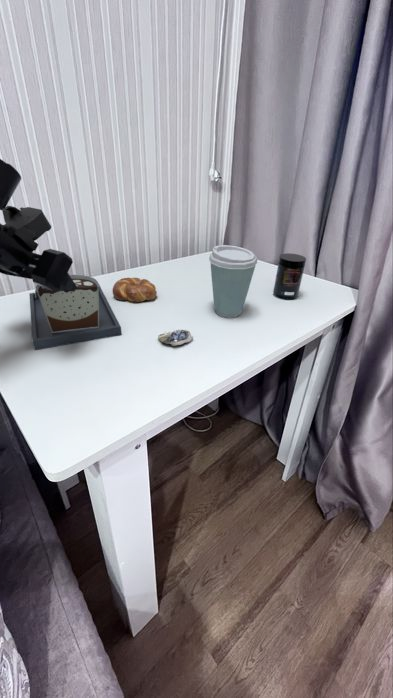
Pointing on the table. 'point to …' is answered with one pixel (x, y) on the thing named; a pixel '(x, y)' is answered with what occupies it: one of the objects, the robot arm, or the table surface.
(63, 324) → the food container
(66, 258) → the robot arm
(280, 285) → the supplement container
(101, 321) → the tray
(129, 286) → the pretzel
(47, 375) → the table surface
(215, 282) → the disposable coffee cup
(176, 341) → the crystal geode
